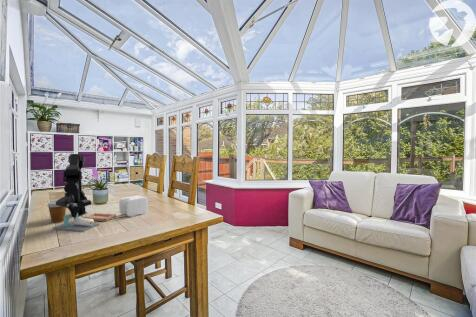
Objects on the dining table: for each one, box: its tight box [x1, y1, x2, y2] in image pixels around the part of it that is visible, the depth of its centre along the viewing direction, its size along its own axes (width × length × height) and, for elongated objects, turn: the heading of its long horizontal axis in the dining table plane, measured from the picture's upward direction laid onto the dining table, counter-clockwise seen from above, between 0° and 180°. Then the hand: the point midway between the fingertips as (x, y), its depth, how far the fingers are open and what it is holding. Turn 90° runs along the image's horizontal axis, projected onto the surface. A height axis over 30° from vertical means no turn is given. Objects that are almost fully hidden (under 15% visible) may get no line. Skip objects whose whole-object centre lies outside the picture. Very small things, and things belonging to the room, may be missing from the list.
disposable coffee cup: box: [47, 200, 67, 224], centre depth 142 cm, size 10×10×12 cm
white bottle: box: [72, 217, 95, 226], centre depth 132 cm, size 11×4×4 cm, turn 78°
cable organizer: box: [118, 194, 149, 218], centre depth 157 cm, size 15×11×12 cm
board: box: [52, 220, 100, 233], centre depth 132 cm, size 20×11×1 cm, turn 78°
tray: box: [83, 212, 117, 223], centre depth 148 cm, size 16×9×2 cm, turn 78°
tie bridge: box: [63, 213, 79, 227], centre depth 133 cm, size 2×7×6 cm, turn 168°
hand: (74, 217), depth 132 cm, fingers closed
